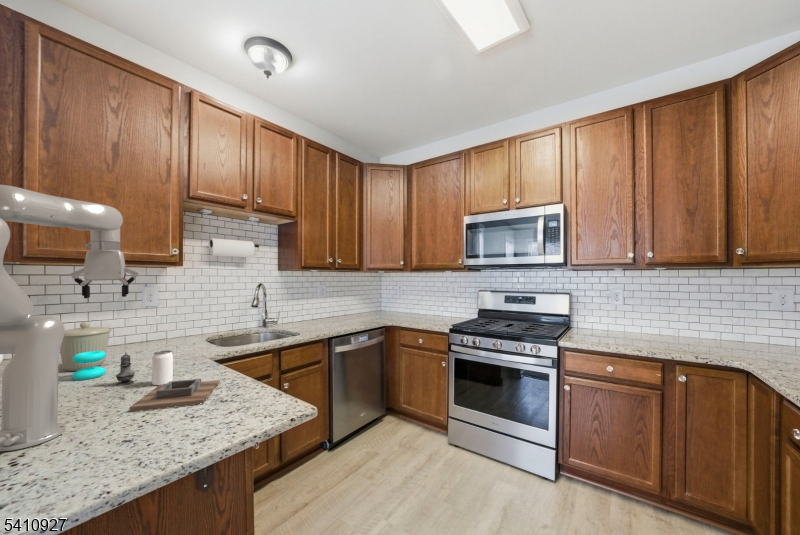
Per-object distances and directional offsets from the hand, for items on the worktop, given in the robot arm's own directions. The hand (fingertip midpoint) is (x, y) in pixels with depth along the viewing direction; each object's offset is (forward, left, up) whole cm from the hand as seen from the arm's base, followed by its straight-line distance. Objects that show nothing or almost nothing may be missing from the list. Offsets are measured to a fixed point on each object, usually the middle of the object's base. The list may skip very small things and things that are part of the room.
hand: (106, 297), depth 109 cm
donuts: (+31, +21, -35) cm, 51 cm away
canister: (+48, +32, -35) cm, 67 cm away
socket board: (-5, -24, -35) cm, 42 cm away
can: (+13, -12, -35) cm, 39 cm away
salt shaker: (+17, +2, -35) cm, 39 cm away
